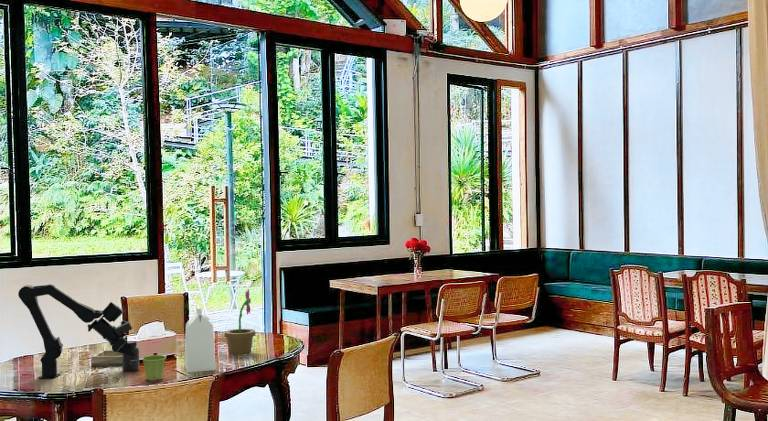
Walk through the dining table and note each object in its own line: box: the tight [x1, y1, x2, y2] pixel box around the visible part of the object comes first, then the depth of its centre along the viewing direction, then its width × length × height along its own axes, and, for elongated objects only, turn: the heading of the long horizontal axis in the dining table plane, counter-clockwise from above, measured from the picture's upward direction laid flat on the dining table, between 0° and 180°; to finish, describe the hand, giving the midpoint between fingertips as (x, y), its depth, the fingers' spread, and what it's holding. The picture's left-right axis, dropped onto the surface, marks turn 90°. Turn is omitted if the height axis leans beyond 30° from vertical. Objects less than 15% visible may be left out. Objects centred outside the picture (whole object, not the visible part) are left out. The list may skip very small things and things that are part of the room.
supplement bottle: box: [121, 340, 140, 372], centre depth 309 cm, size 7×7×12 cm
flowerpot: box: [224, 289, 256, 356], centre depth 340 cm, size 14×14×30 cm
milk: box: [184, 306, 216, 373], centre depth 310 cm, size 12×12×26 cm
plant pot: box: [141, 354, 167, 382], centre depth 292 cm, size 9×9×9 cm
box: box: [90, 349, 122, 367], centre depth 324 cm, size 14×14×4 cm
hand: (134, 354), depth 309 cm, fingers closed on supplement bottle, 7 cm apart
